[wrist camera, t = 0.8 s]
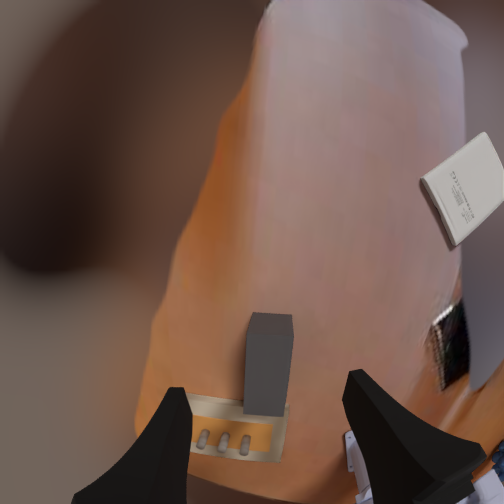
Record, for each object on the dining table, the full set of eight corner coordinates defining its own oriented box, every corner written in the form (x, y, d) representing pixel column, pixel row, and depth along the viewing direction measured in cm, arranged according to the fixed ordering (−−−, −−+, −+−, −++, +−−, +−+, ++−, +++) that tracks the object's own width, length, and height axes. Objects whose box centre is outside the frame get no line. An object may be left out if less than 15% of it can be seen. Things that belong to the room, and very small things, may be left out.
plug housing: (252, 312, 27) (246, 333, 22) (291, 314, 27) (293, 336, 22) (249, 385, 28) (243, 414, 23) (283, 387, 28) (283, 417, 23)
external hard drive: (505, 192, 23) (449, 245, 25) (478, 133, 22) (417, 178, 24) (513, 192, 21) (457, 246, 23) (485, 131, 21) (424, 176, 23)
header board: (289, 404, 28) (289, 427, 24) (280, 456, 29) (279, 478, 25) (170, 389, 29) (157, 409, 25) (178, 442, 31) (168, 462, 26)
